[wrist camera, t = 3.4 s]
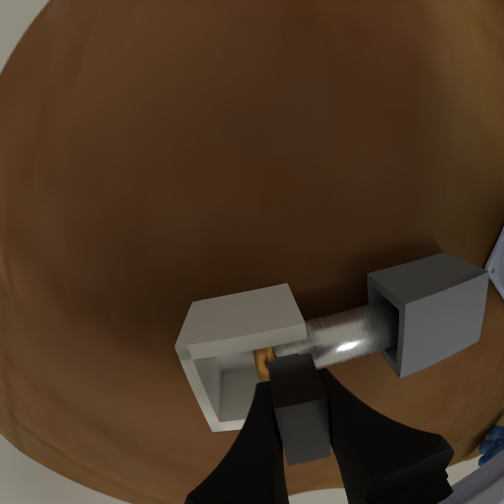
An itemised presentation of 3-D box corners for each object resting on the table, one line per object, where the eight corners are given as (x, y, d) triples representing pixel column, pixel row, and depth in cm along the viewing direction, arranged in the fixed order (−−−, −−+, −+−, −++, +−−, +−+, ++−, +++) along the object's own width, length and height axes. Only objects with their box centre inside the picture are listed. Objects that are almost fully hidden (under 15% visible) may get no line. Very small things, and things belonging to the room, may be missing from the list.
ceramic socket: (287, 282, 16) (304, 323, 11) (300, 363, 18) (316, 414, 13) (192, 301, 16) (174, 346, 11) (218, 378, 18) (212, 431, 13)
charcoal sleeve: (443, 252, 16) (489, 271, 11) (441, 312, 17) (478, 340, 13) (366, 273, 16) (405, 304, 12) (369, 338, 17) (399, 378, 13)
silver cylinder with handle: (392, 279, 15) (472, 339, 8) (391, 334, 16) (454, 405, 9) (248, 314, 16) (252, 412, 8) (261, 368, 16) (272, 468, 9)
